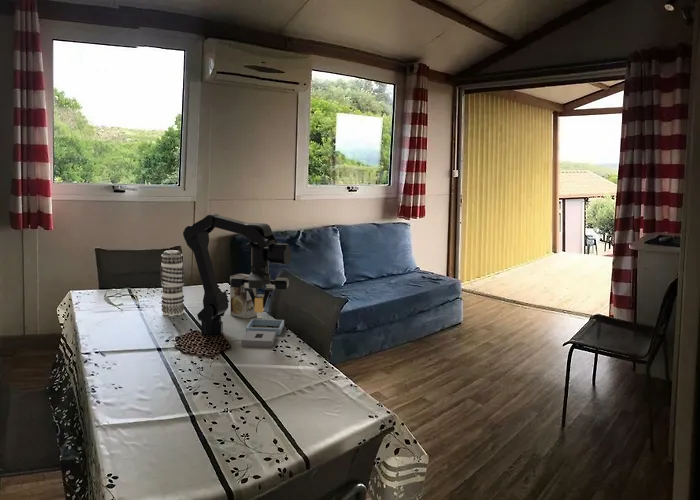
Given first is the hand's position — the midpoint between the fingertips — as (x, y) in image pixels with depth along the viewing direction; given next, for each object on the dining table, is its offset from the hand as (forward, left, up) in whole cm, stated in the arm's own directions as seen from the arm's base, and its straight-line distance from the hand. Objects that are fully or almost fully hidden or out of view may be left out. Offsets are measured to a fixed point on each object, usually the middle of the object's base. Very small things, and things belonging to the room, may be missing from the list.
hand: (259, 307), depth 181 cm
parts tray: (0, +12, -12) cm, 17 cm away
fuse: (0, 0, -3) cm, 3 cm away
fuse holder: (0, -1, -12) cm, 12 cm away
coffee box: (-12, +32, -13) cm, 37 cm away
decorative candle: (-40, +31, -13) cm, 52 cm away
